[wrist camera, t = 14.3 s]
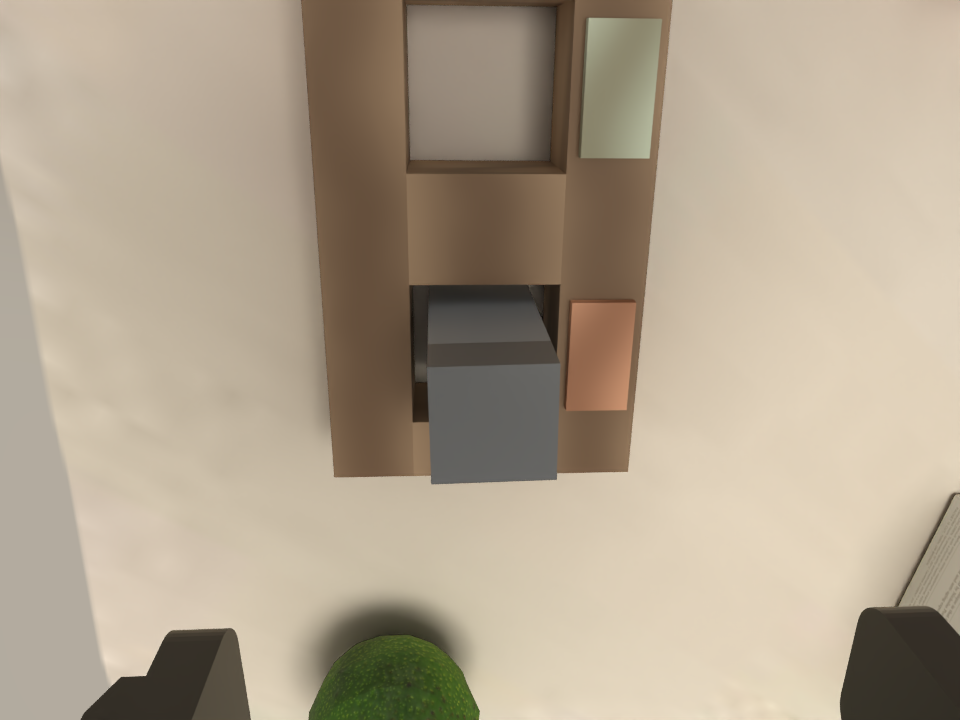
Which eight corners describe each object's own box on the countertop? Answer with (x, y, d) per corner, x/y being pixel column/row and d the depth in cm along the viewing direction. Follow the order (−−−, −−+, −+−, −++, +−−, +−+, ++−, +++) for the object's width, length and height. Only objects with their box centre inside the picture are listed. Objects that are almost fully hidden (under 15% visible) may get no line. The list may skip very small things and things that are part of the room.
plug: (523, 276, 32) (560, 363, 22) (522, 363, 33) (556, 479, 24) (429, 278, 32) (426, 367, 22) (432, 366, 33) (431, 484, 24)
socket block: (647, -65, 27) (684, -88, 23) (607, 428, 35) (630, 476, 31) (314, -72, 27) (292, -97, 23) (345, 432, 34) (332, 482, 30)
